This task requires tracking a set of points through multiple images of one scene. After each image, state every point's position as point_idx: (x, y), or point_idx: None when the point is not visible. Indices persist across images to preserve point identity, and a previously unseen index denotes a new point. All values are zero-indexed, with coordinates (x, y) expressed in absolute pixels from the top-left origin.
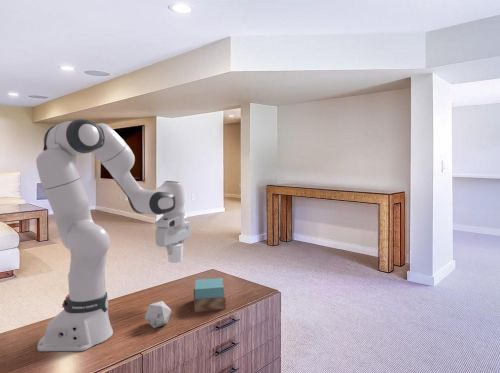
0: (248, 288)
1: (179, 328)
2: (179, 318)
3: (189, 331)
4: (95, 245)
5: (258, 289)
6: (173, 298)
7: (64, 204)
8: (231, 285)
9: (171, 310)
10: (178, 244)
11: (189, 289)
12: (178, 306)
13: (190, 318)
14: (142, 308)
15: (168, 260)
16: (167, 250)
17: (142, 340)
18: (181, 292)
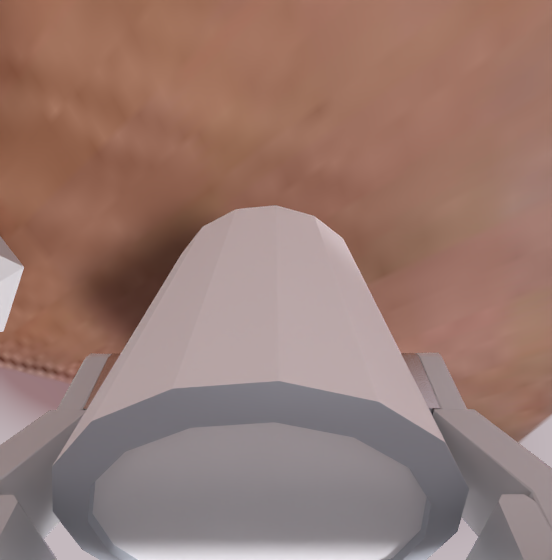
0: (506, 393)
1: (27, 337)
2: (89, 294)
3: (38, 374)
4: None
5: (496, 424)
6: (275, 114)
7: None
8: (549, 318)
9: (1, 331)
10: (299, 556)
11: (458, 122)
12: (189, 217)
13: (117, 331)
14: (40, 10)
15: (200, 231)
16: (131, 344)
17: None
18: (391, 100)
